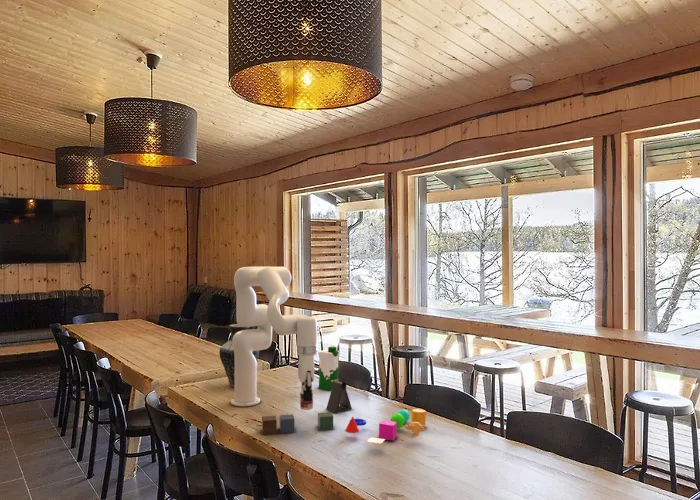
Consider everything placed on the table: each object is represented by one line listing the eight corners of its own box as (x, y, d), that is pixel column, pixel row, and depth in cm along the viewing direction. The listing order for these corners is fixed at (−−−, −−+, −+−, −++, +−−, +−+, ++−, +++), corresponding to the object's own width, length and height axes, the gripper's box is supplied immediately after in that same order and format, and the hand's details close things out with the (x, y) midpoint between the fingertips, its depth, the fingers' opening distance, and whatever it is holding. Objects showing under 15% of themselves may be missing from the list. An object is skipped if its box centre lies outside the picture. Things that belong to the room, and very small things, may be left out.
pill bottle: (300, 406, 190) (300, 384, 190) (312, 406, 191) (313, 384, 191) (300, 410, 186) (300, 387, 186) (313, 410, 186) (313, 387, 186)
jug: (255, 391, 239) (255, 327, 239) (214, 390, 239) (214, 327, 239) (263, 379, 259) (263, 321, 259) (225, 379, 260) (226, 321, 260)
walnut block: (261, 429, 187) (262, 416, 187) (275, 428, 188) (275, 415, 188) (262, 434, 182) (262, 420, 182) (276, 433, 183) (276, 419, 183)
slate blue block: (279, 428, 188) (279, 415, 188) (292, 427, 190) (292, 414, 190) (280, 433, 184) (280, 419, 184) (294, 432, 185) (294, 418, 185)
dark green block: (317, 425, 192) (317, 412, 192) (330, 424, 193) (330, 411, 193) (320, 430, 187) (320, 416, 187) (333, 429, 188) (333, 416, 188)
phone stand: (334, 413, 206) (334, 384, 206) (326, 409, 211) (326, 381, 211) (351, 409, 212) (352, 381, 212) (343, 406, 217) (343, 378, 217)
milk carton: (330, 391, 239) (330, 349, 239) (315, 388, 244) (315, 347, 244) (341, 387, 246) (341, 346, 246) (326, 384, 251) (327, 344, 251)
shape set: (435, 428, 194) (435, 409, 195) (417, 454, 161) (417, 431, 162) (362, 419, 204) (363, 401, 205) (331, 442, 171) (332, 420, 172)
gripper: (294, 346, 196) (293, 393, 196) (299, 354, 179) (299, 406, 179) (313, 345, 197) (312, 392, 197) (320, 354, 181) (320, 404, 181)
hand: (306, 398), depth 188 cm, fingers closed on pill bottle, 4 cm apart
